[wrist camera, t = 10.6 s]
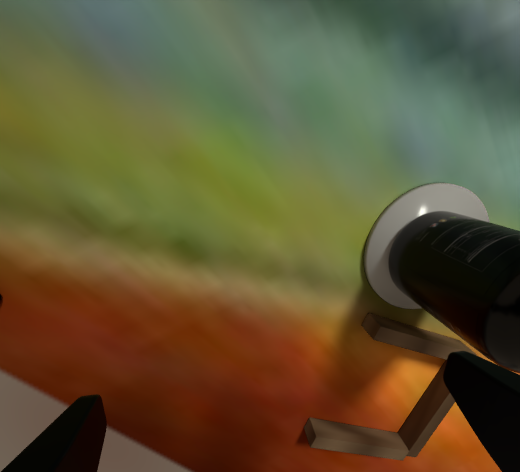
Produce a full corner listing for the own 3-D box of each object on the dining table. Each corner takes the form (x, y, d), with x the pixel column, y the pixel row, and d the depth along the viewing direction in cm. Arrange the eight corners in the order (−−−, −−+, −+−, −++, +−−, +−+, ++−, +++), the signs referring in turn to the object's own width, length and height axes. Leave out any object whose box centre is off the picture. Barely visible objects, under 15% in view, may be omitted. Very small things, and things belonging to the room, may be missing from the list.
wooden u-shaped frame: (303, 427, 27) (310, 447, 25) (368, 312, 24) (380, 326, 22) (401, 443, 30) (412, 461, 28) (469, 343, 27) (486, 357, 25)
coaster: (383, 325, 24) (387, 329, 24) (346, 221, 21) (349, 223, 20) (491, 271, 25) (497, 273, 24) (473, 158, 21) (479, 159, 20)
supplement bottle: (472, 271, 24) (714, 395, 12) (394, 306, 23) (568, 464, 12) (462, 192, 21) (752, 256, 10) (375, 230, 21) (571, 339, 10)
